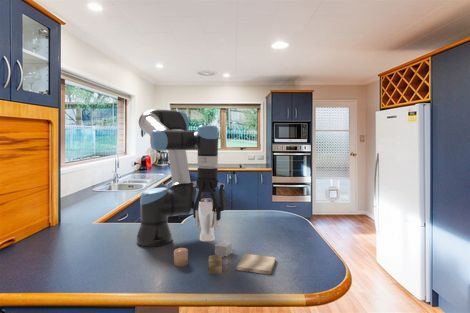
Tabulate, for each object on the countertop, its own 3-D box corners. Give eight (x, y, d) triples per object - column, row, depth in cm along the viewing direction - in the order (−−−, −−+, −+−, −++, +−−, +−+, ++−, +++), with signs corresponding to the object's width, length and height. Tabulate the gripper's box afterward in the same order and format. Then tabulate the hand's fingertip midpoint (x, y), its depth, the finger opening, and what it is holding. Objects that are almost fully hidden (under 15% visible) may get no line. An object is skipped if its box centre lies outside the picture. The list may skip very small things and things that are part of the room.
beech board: (236, 269, 101) (236, 266, 101) (244, 256, 113) (244, 253, 113) (270, 274, 98) (270, 271, 98) (275, 260, 109) (275, 257, 109)
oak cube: (208, 273, 98) (208, 260, 98) (209, 267, 103) (209, 255, 103) (221, 273, 99) (222, 260, 98) (221, 267, 103) (221, 255, 103)
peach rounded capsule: (171, 265, 104) (171, 252, 104) (177, 260, 109) (177, 247, 109) (184, 267, 103) (184, 253, 103) (189, 261, 108) (189, 248, 107)
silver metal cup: (198, 243, 105) (199, 202, 104) (196, 236, 112) (196, 198, 111) (217, 241, 107) (217, 201, 106) (213, 235, 114) (214, 197, 113)
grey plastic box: (214, 255, 114) (214, 245, 114) (220, 250, 119) (220, 241, 119) (226, 257, 112) (226, 247, 112) (231, 252, 117) (231, 243, 117)
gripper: (179, 166, 107) (178, 227, 108) (229, 169, 101) (228, 233, 103) (187, 164, 114) (187, 221, 116) (235, 167, 108) (234, 227, 110)
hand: (206, 227), depth 109 cm, fingers closed on silver metal cup, 7 cm apart
